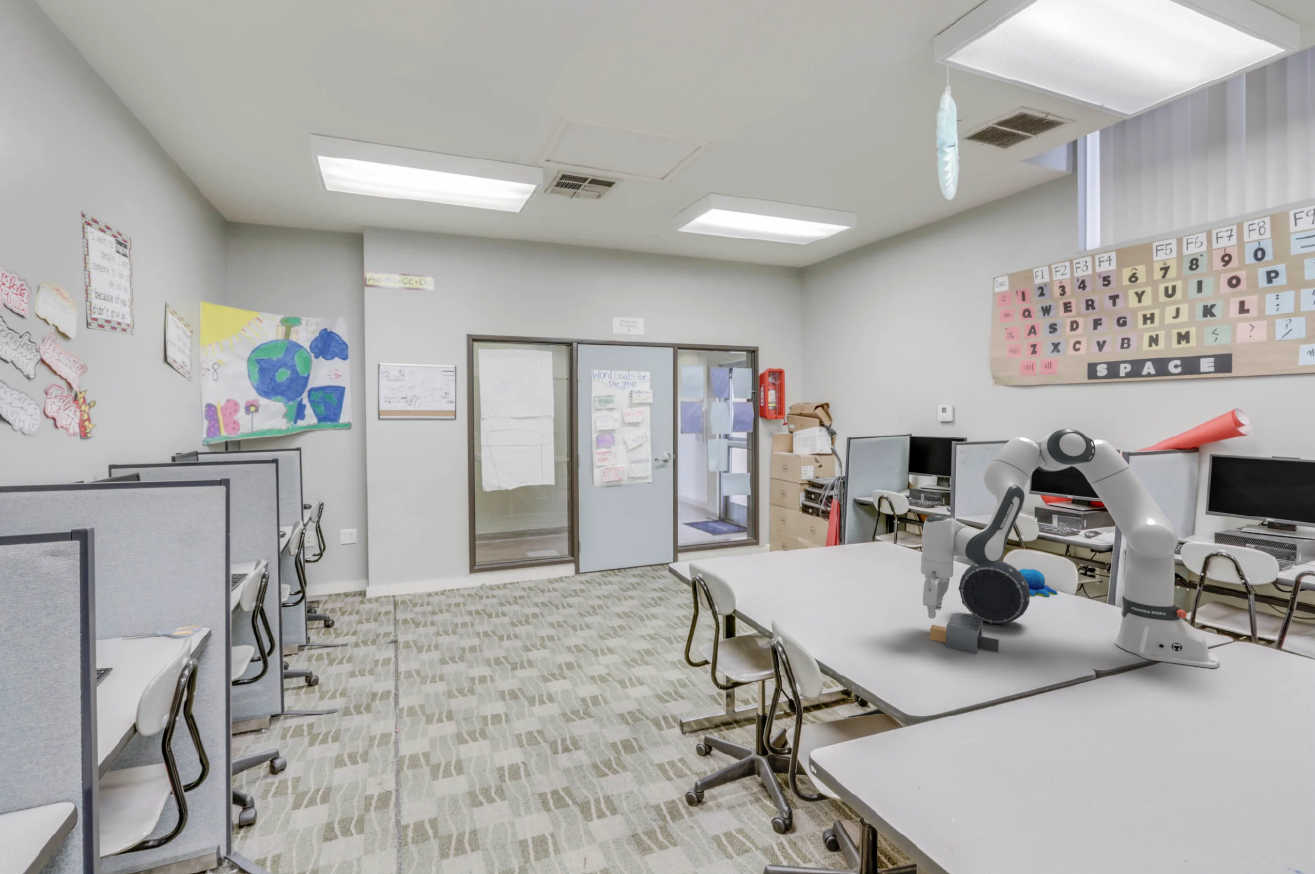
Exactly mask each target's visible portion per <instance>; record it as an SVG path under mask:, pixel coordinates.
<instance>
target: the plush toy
mask: <svg viewBox="0 0 1315 874" xmlns="http://www.w3.org/2000/svg"><path fill="white" fill-rule="evenodd" d="M1018 571H1019V572H1020V573H1021V574H1022V575H1023V576H1024V578H1025V579H1026V581H1027V583H1028V586H1029V589H1030V597H1033V598H1035V597H1036V595H1038V596H1040V597H1045V598H1049V597H1050V596H1051V595H1054V596H1056V595H1058V591H1057V590H1055V589H1053V588H1051V587H1049V585H1047V584H1045V583H1046V578H1045V576H1044V574H1043V573H1042V572H1041V571H1039V570H1038V569H1029V568H1022V569H1018Z"/></svg>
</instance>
